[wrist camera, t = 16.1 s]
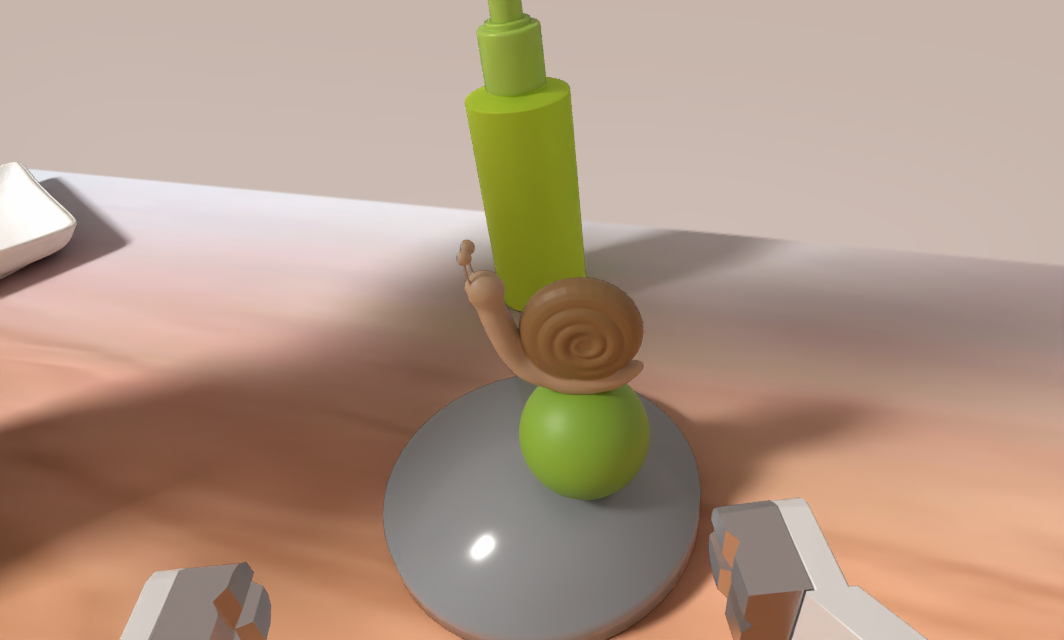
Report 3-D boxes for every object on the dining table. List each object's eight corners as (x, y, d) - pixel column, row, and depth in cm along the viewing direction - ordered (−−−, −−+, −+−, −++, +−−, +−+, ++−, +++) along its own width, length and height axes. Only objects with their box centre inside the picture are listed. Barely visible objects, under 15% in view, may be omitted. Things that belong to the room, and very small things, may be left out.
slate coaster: (638, 720, 22) (637, 700, 21) (327, 576, 28) (316, 556, 27) (731, 430, 31) (734, 409, 30) (486, 370, 37) (481, 350, 36)
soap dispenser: (613, 271, 44) (595, -66, 32) (548, 324, 40) (499, -37, 28) (548, 249, 47) (509, -63, 35) (482, 295, 43) (414, -37, 31)
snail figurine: (512, 430, 31) (468, 208, 24) (646, 428, 30) (643, 197, 23) (498, 527, 27) (439, 292, 20) (654, 527, 26) (652, 281, 19)
